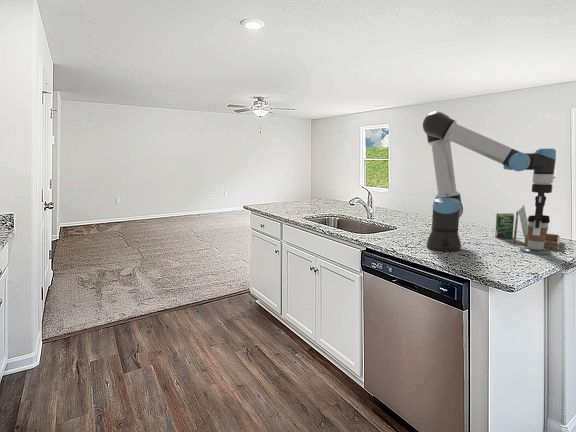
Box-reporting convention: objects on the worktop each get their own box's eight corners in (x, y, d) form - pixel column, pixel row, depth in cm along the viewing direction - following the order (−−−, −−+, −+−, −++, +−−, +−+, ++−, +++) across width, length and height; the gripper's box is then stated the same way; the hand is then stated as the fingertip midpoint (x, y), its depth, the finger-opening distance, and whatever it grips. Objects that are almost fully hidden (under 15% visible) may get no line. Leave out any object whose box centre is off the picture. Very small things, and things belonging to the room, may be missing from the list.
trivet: (542, 256, 161) (542, 254, 161) (514, 250, 171) (514, 249, 171) (556, 252, 167) (556, 251, 167) (528, 247, 177) (528, 245, 177)
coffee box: (496, 237, 197) (498, 213, 195) (494, 236, 200) (496, 212, 198) (512, 238, 196) (515, 214, 193) (510, 237, 198) (513, 213, 196)
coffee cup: (550, 250, 164) (554, 217, 161) (529, 249, 165) (532, 216, 163) (541, 246, 172) (545, 214, 169) (521, 245, 174) (524, 214, 171)
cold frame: (558, 250, 171) (563, 212, 168) (512, 244, 182) (515, 209, 179) (559, 241, 188) (563, 207, 185) (516, 236, 199) (519, 204, 196)
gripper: (552, 185, 153) (545, 238, 157) (553, 182, 170) (547, 230, 174) (530, 184, 158) (525, 236, 161) (533, 181, 174) (528, 228, 178)
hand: (536, 233), depth 168 cm, fingers closed on coffee cup, 8 cm apart
